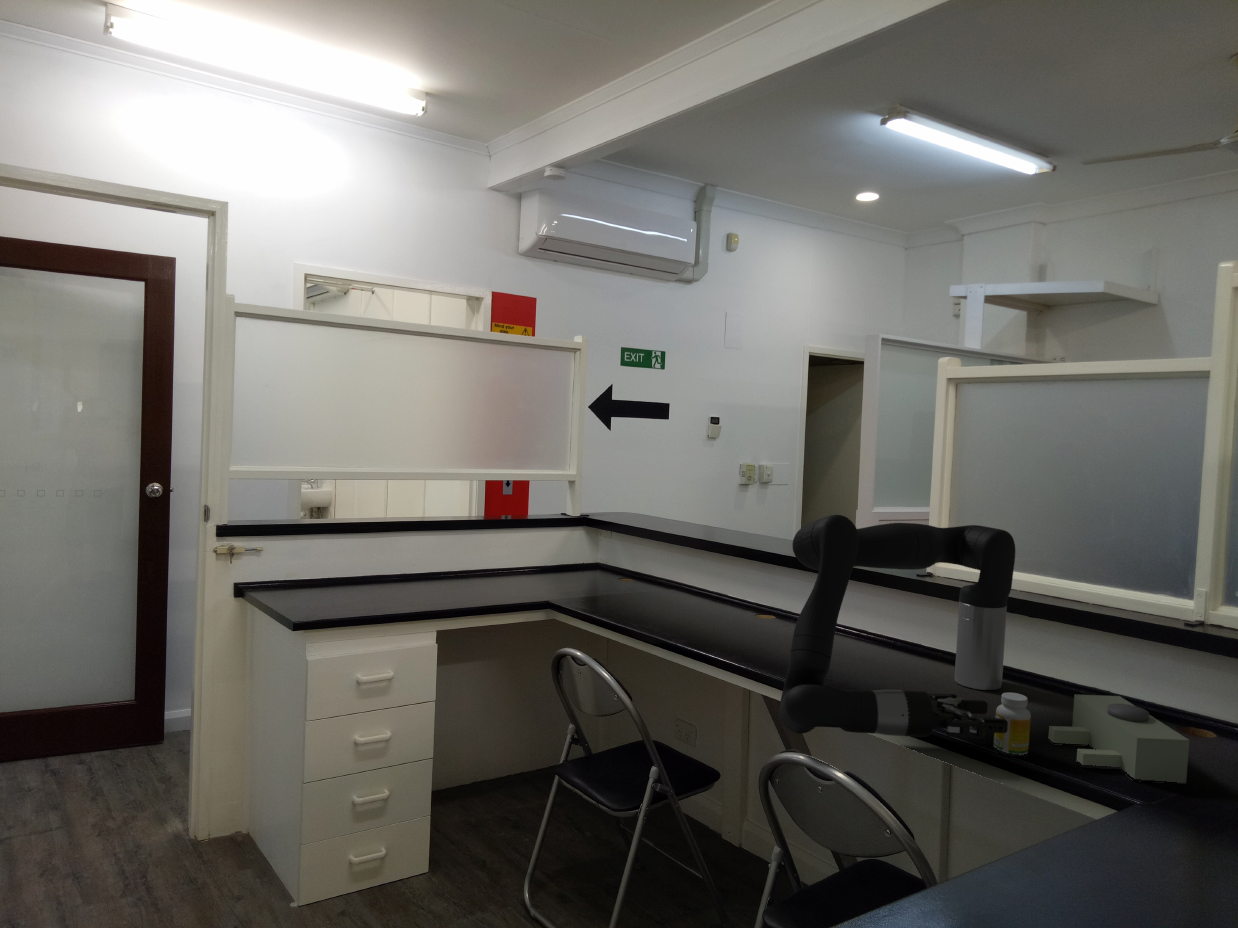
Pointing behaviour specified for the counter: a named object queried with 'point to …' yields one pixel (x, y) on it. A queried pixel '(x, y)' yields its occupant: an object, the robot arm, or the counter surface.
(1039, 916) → the counter surface
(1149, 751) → the olive footed block
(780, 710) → the robot arm
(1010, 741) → the supplement bottle
